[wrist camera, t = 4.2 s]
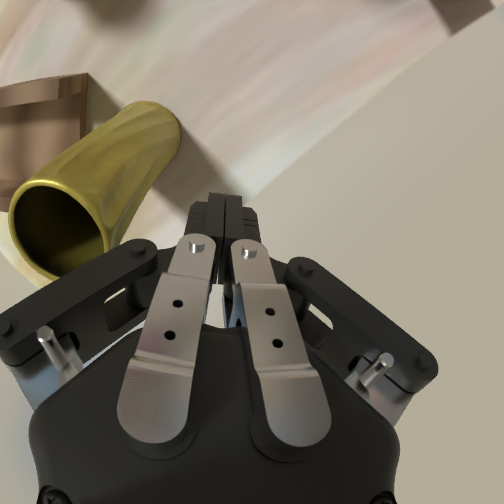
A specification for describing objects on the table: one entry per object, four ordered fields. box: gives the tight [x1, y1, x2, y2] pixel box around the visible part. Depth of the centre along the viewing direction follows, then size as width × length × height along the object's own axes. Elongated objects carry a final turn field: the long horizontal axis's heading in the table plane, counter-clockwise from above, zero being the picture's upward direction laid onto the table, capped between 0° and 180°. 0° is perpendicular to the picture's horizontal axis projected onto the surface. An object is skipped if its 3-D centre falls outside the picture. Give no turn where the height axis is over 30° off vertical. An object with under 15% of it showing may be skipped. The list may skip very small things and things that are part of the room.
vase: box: [8, 101, 180, 281], centre depth 15 cm, size 6×6×14 cm
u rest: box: [0, 73, 88, 212], centre depth 17 cm, size 13×11×4 cm
